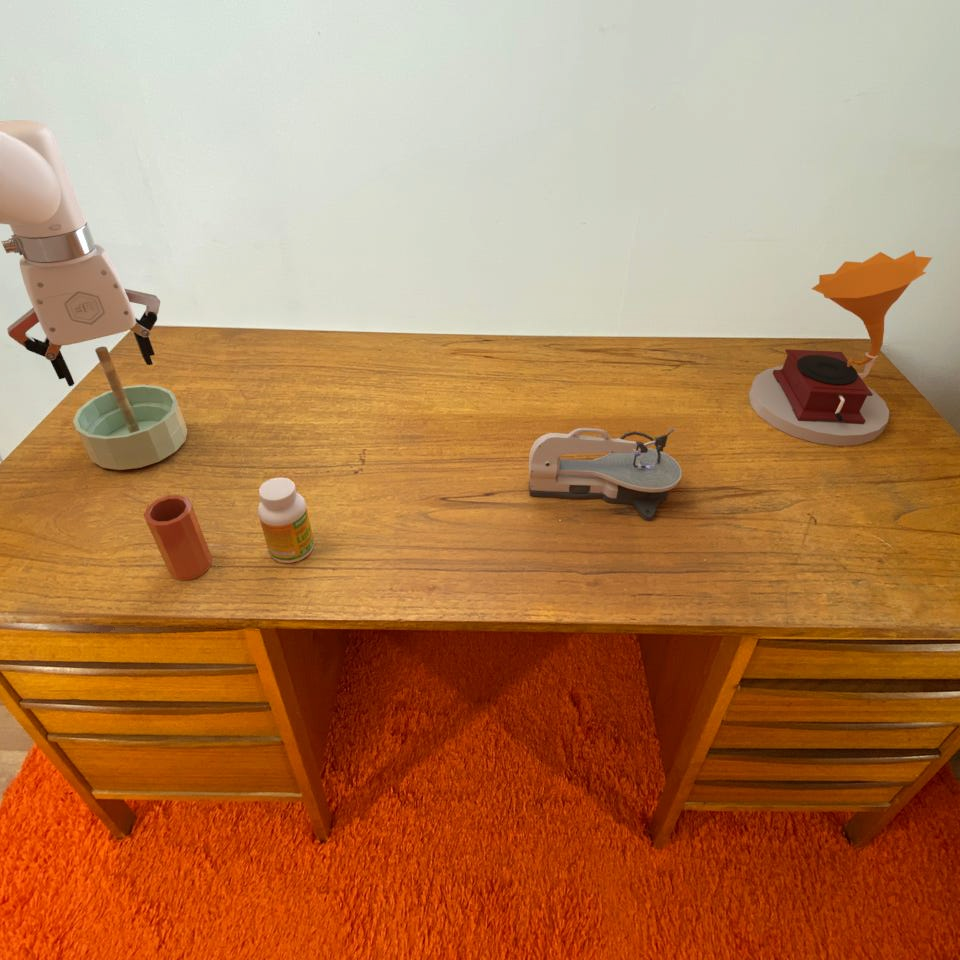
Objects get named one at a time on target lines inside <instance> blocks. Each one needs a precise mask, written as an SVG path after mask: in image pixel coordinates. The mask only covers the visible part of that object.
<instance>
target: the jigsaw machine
mask: <svg viewBox="0 0 960 960" xmlns="http://www.w3.org/2000/svg"><path fill="white" fill-rule="evenodd" d="M673 432H674V428H671V429H670V430H669V432H668V433H667V434H664V435H660V436H655V437H654V438H653V437H652V436H650V435H649V434H646V433H643V432H640V431H635V430H633V431H630V432H626V433H624V434H623V435H622V436H621V437H619V438H612V437H611V436H610V435H609V433H608V432H607V431H606V430H605V429H600V428H594V427H593V428H591V427H579V428H576V429H573V430H572V431H570V432H569V433H561V432H549V433H546V434H543V435H541V436H540V437H538V438H536V440H535V441H534V443H532V446H531V448H530V450H529V455H528V456H529V457H528V489H529V496H531V497H538V498H556V499H567V500H591V499H592V500H593V499H598V500H601V499H602V500H603V501H604V502H606V503H608V504H621V505H633V507H634V508H635V510H636V512H637V513H638V515H639V516H640V517H641V519H643V520H644V521H647V522H648V521H649V522H650V521H652V520H653V519H654V517H655V514H656V511H657V508H658V507H659V505H661V504H663V503H664V502H665V501H667V498H668V496H669V491H670V490H672V489H674V488H675V487H677V486H678V485H679V484H680V483H681V482H680V481H681V479H682V475H683V472H682V467H681V466H680V464H679V462H678V461H677V460H676V459H675V458H674V457H672V456H671V455H669V454H667V453H665V452H664V448H666V445H667V441H668V436H669V435H670V434H671V433H673ZM584 433H590V434H591V433H592V434H599V435H601V436H602V437H601V436H593V435H592V436H591V435H583V434H584ZM581 434H582V435H581ZM634 435H635V436H639V437H643V438H645V439H647V440H650V441H647V442H646V443H645V442H643V441H637V440H636V441H634V440H626V438H627V437H631V436H634ZM653 445H654V446H655V449H654V448H649V447H650V446H653ZM575 454H576V455H577V454H607V455H604V456H601V457H598V458H595V459H568V458H567V459H566V458H565V459H563V458H560V457H561V456H565V455H575Z"/></svg>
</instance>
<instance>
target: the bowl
mask: <svg viewBox="0 0 960 960" xmlns="http://www.w3.org/2000/svg"><path fill="white" fill-rule="evenodd" d="M123 389H124V391H125V394H126V396H127V399H128V401H129V404H130V406H131V408H132V411H133V413H134V416H135V418H136V421H137V423H138V426H139V428H140V430H139V431H136V432H133V433H130V432H129V430H128V427H127V425H126V423H125V420H124V418H123V416H122V413H121V411H120V408H119V406H118V404H117V401H116V399H115V397H114V394H113V392H112V389H111V390H107V391H105V392H103V393H101V394H99V395H97V396H95V397H93V398H91V399H89V400H88V401H87V402H85V403H84V404H83V405H82V406H81V407H80V408H78V409H77V411H76V413H75V415H74V417H73V420H72V422H73V425H74V428H75V431H76V433H77V435H78V437H79V440H80V441H81V443H82V445H83V447H84V449H85V451H86V453H87V455H88V458H89V460H90V461H91V462H92V463H94V464H95V465H97V466H98V467H100V468H102V469H103V468H104V469H109V470H116V471H124V470H131V469H141V468H143V467H147V466H150V465H153V464H156V463H159V462H162V461H163V460H165V459H166V458H168V457H169V456H171V455H173V454H174V453H176V452H177V451H178V450H179V449H180V448H181V446H182V445H183V444H184V443H185V442H186V440H187V436H188V432H189V431H188V427H187V424H186V422H185V418H184V415H183V413H182V410H181V407H180V403H179V401H178V399H177V397H176V395H175V394H174V392H173V391H171V390H169V389H167V388H165V387H163V386H161V385H152V384H137V385H127V386H126V385H125V386H123Z"/></svg>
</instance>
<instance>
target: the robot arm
mask: <svg viewBox="0 0 960 960" xmlns="http://www.w3.org/2000/svg"><path fill="white" fill-rule="evenodd" d="M0 225H9V227H10V229H11V231H12V233H13V234H12V235H11V237H10V238H8V239H7V240H1V244H2V247H3V249H4V251H5V253H6V254H10V253H14V254H19V256H22V257H21V258H20V259H19V269H20V273H21V278H22V281H23V284H24V286H25V289H26V292H27V295H28V298H29V300H30V303H31V305H32V308H30V309H29V310H28V311H26V313H25V314H23V315H22V316H21V317H19V318H18V319H17V320H15V321H14V322H13V323H11V324H10V325H9V326H8V327H7V329H6V330H7V334H8V336H9V338H11V339H13V340H14V341H15V342H17V343H18V344H19V345H21V346H22V347H24V348H25V349H26V351H29V352H31V353H33V354H36V355H39V356H42V357H44V358H45V359H46V360H48V361H50V364H51V365H52V367H53V370H54V372H55V374H56V376H57V378H58V380H63V379H65V381H66V383H67V386H68V387H73V386H74V385H75V381H74V377H73V376H72V373H71V372H70V369H69V367H68V365H67V362H66V360H65V358H64V356H63V354H62V351H61V349H62V346H70V345H74V344H80V343H84V342H87V341H92V340H96V339H100V338H105V337H109V336H112V335H117V334H121V333H124V332H127V331H132V332H133V335H134V338H135V340H136V344H137V346H138V349H139V352H140V354H141V357H142V359H143V360H144V362H145V364H146V365H147V366H152V365H154V363H153V360H152V358H151V357H152V356H155V355H156V354H155V350H154V348H153V345H152V343H151V340H150V335H151V330H152V329H153V327H154V326H155V324H156V322H157V321H158V314H159V310H160V306H161V300H160V298H159V297H158V296H157V295H155V294H152V293H147V292H142V291H137V290H132V289H129V288H125V287H124V285H123V282H122V280H121V277H120V276H119V274H118V271H117V269H116V267H115V265H114V264H113V261H112V260H111V258H110V256H109V255H108V253H107V251H106V249H105V248H103V246H101V245H100V244H98V243H95V240H94V238H93V235H92V232H91V230H90V227H89V224H88V222H87V219H86V217H85V214H84V211H83V208H82V206H81V203H80V199H79V198H78V195H77V192H76V190H75V187H74V184H73V182H72V179H71V176H70V174H69V171H68V168H67V166H66V164H65V161H64V158H63V155H62V153H61V149H60V147H59V145H58V142H57V140H56V137H55V134H53V132H52V131H51V130H50V128H49V127H47V126H46V125H45V124H43V123H41V122H39V121H34V120H28V119H11V120H9V119H8V120H1V121H0ZM131 303H134V304H139V305H143V306H146V307H145V311H144V312H143V314H142V315H141V317H140V318H138V317H136V316H135V312H134V310H133V307H132V304H131ZM37 324H40V327H41V329H42V331H43V333H44V335H45V339H44V340H43V341H42V340H41V339H37V338H35V337H32V336H31V335H29V334H28V333H27V332H28V331H29V330H31V329H32V328H33V327H35V326H36V325H37Z"/></svg>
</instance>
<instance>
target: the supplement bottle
mask: <svg viewBox="0 0 960 960" xmlns="http://www.w3.org/2000/svg"><path fill="white" fill-rule="evenodd" d="M258 496H259V500H260V502H259V504H258V506H257V515H258V519H259V523H260V525H261V530H262V532H263V536H264V540H265V543H266V547H267V551H268V553H269V555H270V557H271V558H272V559H273V560H275V561H276V562H278V563H281V564H282V563H283V564H292V563H293V564H294V563H297V562H299V561H302V560H304V559H305V558H306V557H308V556H309V555H310V554H311V553H312V551H313V549H314V546H315V540H314V536H313V530H312V526H311V522H310V521H311V520H310V517H309V511H308V507H307V503H306V500H305V498H304V497H303V496H302V495H301V493H299V492H297V487H296V484H295V482H294V481H292V479H289V478H288V477H274V478H270V479H268V480H266V481H264V482H263V483H262V484H261V485H260V487H259V489H258Z"/></svg>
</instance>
